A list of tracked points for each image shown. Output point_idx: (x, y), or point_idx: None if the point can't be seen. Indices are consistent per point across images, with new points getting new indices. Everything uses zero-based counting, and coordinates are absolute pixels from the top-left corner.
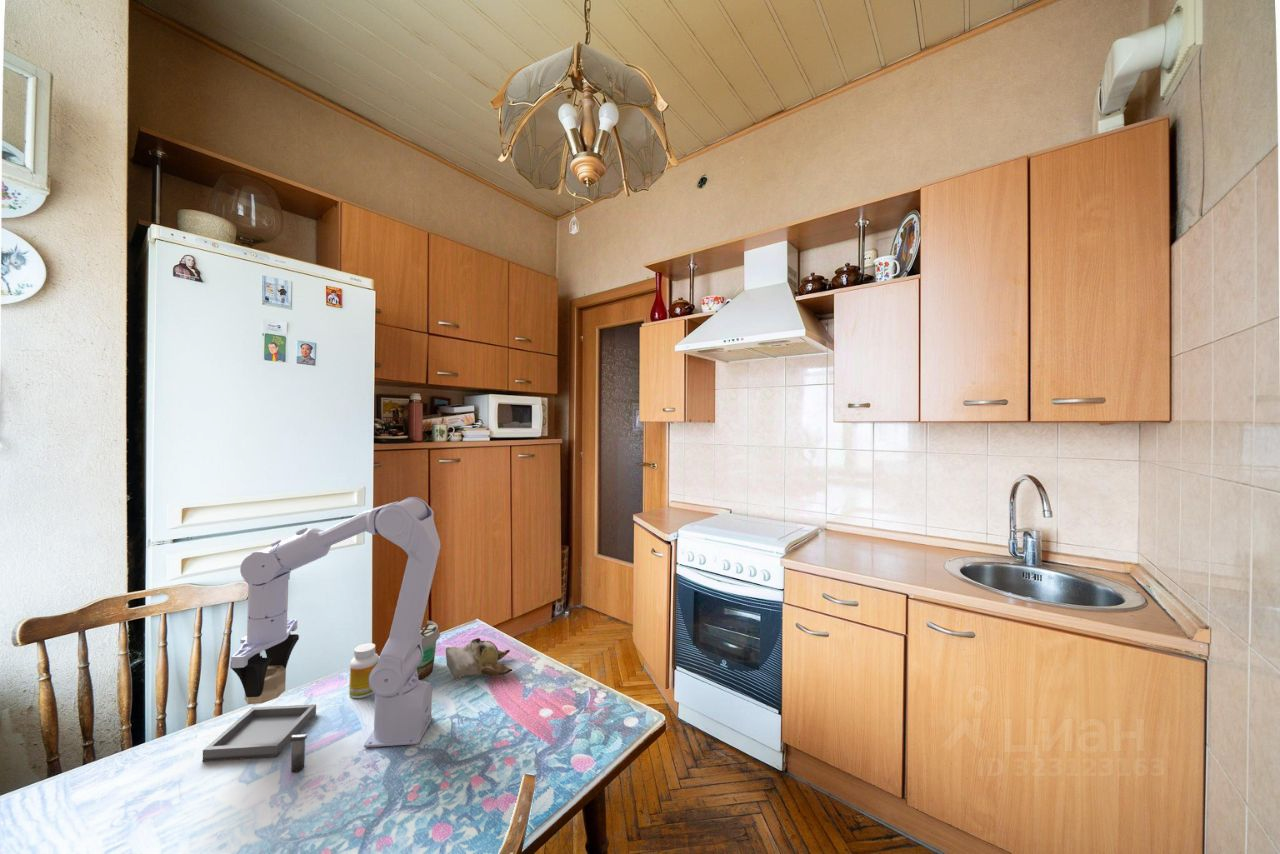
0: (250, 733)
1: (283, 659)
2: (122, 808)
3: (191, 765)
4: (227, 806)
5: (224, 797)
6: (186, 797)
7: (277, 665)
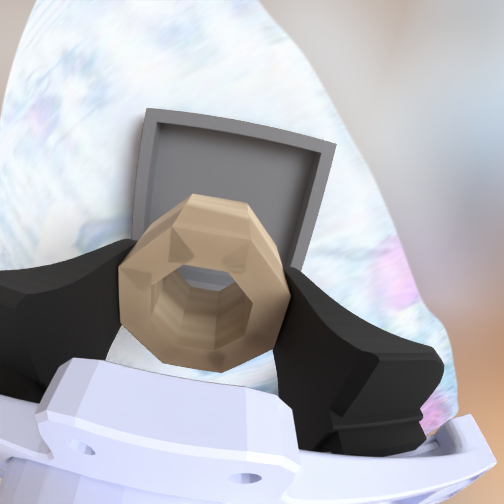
0: (231, 175)
1: (281, 371)
2: (59, 57)
3: (149, 92)
4: (36, 237)
5: (50, 221)
6: (57, 152)
7: (279, 330)
